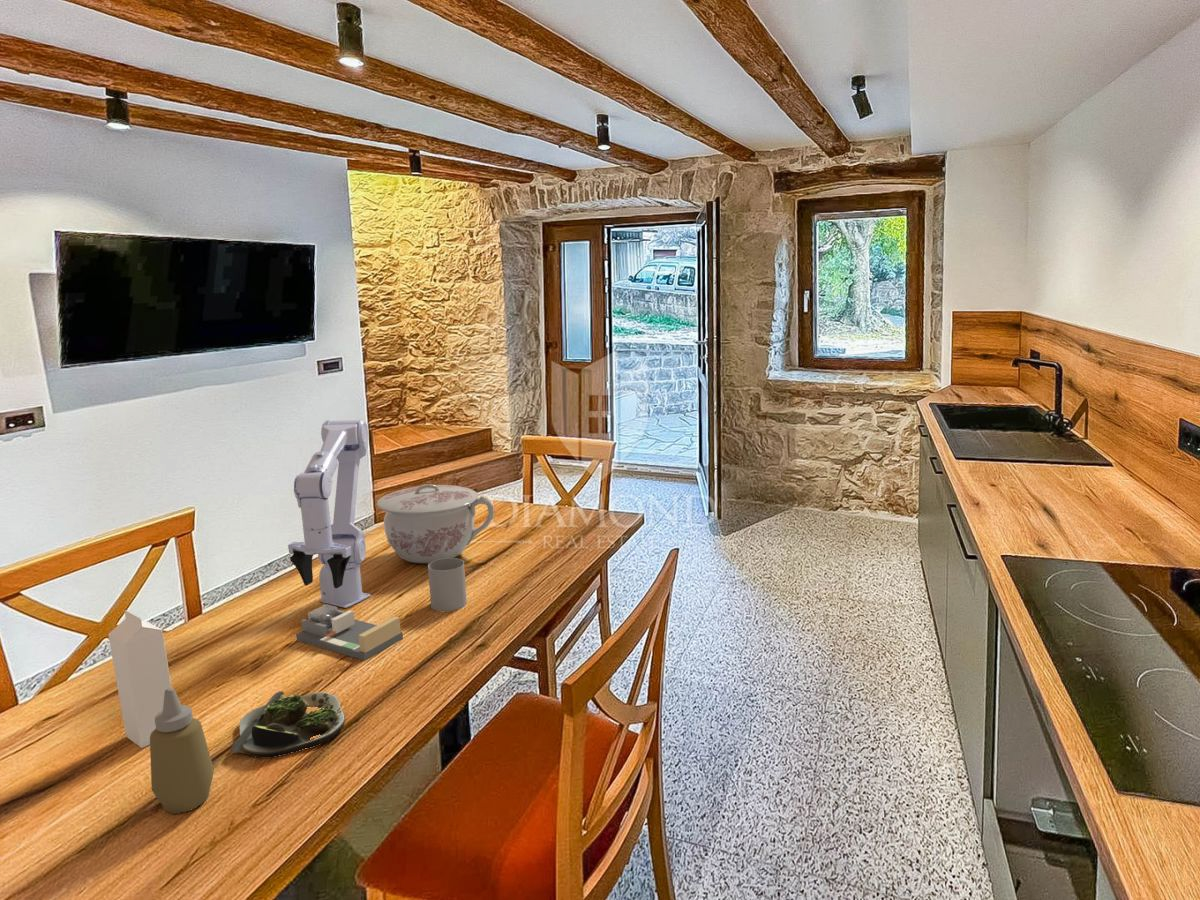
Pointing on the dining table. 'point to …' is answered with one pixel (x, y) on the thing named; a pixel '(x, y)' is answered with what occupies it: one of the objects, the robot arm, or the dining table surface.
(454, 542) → the chamber pot
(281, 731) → the salad plate
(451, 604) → the cup
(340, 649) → the gauge base
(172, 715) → the squeeze bottle
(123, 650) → the milk
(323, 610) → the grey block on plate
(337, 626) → the cream thin slab
